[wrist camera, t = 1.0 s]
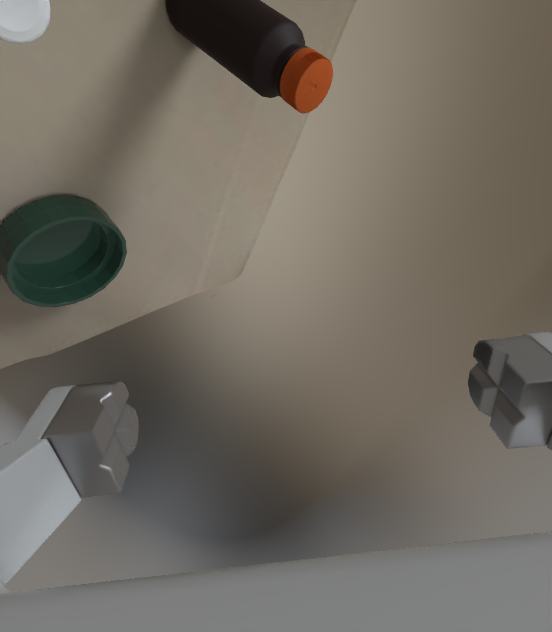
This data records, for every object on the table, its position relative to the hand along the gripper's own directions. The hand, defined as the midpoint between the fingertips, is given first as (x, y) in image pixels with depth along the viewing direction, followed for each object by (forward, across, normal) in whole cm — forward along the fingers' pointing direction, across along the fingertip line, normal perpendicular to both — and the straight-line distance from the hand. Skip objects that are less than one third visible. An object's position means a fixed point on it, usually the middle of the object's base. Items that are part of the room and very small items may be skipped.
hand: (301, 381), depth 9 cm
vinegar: (+48, -6, +16) cm, 51 cm away
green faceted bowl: (+45, -29, -9) cm, 55 cm away
